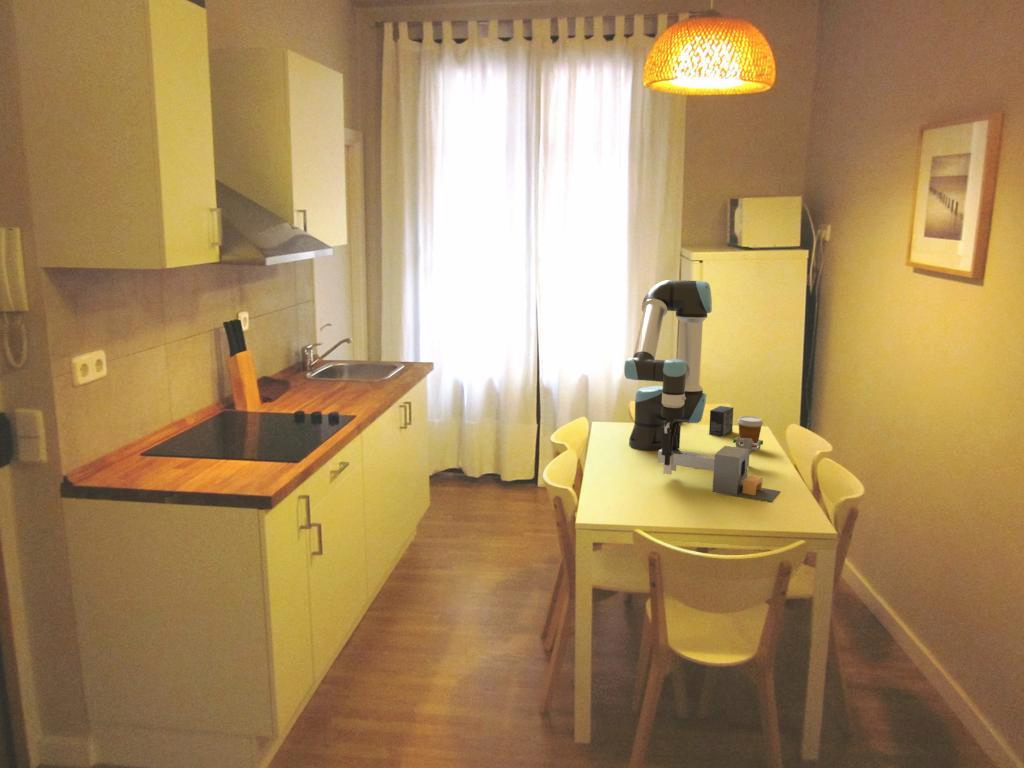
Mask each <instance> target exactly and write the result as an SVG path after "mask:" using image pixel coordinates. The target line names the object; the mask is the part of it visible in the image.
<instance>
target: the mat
mask: <svg viewBox="0 0 1024 768" xmlns="http://www.w3.org/2000/svg"><path fill="white" fill-rule="evenodd" d="M780 492H781V491H780V490H777V489H770V488H765V487H762V490H761V491H760V490H756V495H750V494H746V493H743V489H742V490H741V492H740V493H739V494H738V495H737V498H743V499H749V500H755V501H759V500H760V501H761V502H765V501H767V502H766V503H771V502H772V503H773V502H774V500H775V499H776V498H777V496H778V495H779V494H780Z"/></svg>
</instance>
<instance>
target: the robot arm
mask: <svg viewBox="0 0 1024 768" xmlns="http://www.w3.org/2000/svg"><path fill="white" fill-rule="evenodd" d="M712 301H713V300H712V290H711V286H710V284H709V282H707V281H701V280H674V279H667V280H663V281H661V282H658V283H657V284H655V285H654V286H653V287H652V288H651V289H649V290H648V292H647V293H646V295H645V296H644V298H643V300H642V303H641V304H642V305H641V311H642V317H641V321H640V325H639V329H638V332H637V333H638V334H637V339H636V342H635V348H634V351H633V356H632V357H628V358H626V359H625V362H624V369H623V371H624V373H623V374H624V376H625V378H626V379H628V380H633V381H646V382H647V381H649V382H660V383H662V385H651V386H649V385H647V386H643V387H641V388H639V389H637V390H636V391H635V399H634V402H635V403H634V425H633V428H632V431H631V433H630V436H629V438H628V439H629V440H628V445H629V446H630V447H631V448H633V449H636V450H637V449H638V450H643V451H644V450H645V451H659V450H660V449H662V453H661V455H664V463H663V471H662V472H663V473H662V474H666V475H670V476H671V475H672V473H673V472H676V471H677V465H672V456H671V455H672V450H677V451H681V449H680V442H681V429H682V428H681V426H682V423H685V424H686V423H687V424H699V423H700V422H701V421H702V419H703V415H704V412H705V406H706V403H707V402H706V401H707V394H706V393H705V392H704V388H703V387H702V386H701V385H700V374H701V360H702V358H701V357H702V342H703V341H702V339H703V326H704V325H703V323H704V321H705V320H706V319H707V318H708V314H710V313H712V309H713V308H712V307H713V302H712ZM668 312H675V317H676V318H677V319H678V321H679V324H678V325H679V326H678V343H677V345H678V346H677V358H669V359H666V360H665V359H655V358H656V353H657V348H658V344H659V340H660V336H661V335H660V333H661V330H662V325H663V324H662V323H663V320H664V317H665V316H666V315H667V314H668Z"/></svg>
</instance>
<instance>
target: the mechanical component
mask: <svg viewBox="0 0 1024 768" xmlns="http://www.w3.org/2000/svg"><path fill="white" fill-rule="evenodd" d="M740 442H743V444H740ZM732 443H733V444H735V447H738V448H745V449H749V454H748V466H749V465H750V463H749V462H750V456H751V455H752V451H751V450H754V451H755V452H756V451H757V452H758V451H760V450H761V446H763V444H764V440H761V439H759V440H758V442H757V443H753V441H752V439H751V438H739V437H738V436H737V437H735V438H733V440H732ZM752 446H757V448H752Z"/></svg>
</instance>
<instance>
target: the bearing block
mask: <svg viewBox="0 0 1024 768" xmlns="http://www.w3.org/2000/svg"><path fill="white" fill-rule="evenodd" d="M748 454H749V449H745V448H738V447H736V446H729V445H724V446H723V447H722V448H720V449H719V450H718V451H717V452H715V453H714V456H715V459H714V471H713V474H712V476H713V478H712V493H713V494H719V495H725V496H726V495H727V496H731V497H737V495H738V494H739V493H740V492H741V490H742V489H743V480H744V479H746V478H747V477H748V469H749V465H748ZM737 498H738V497H737Z"/></svg>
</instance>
